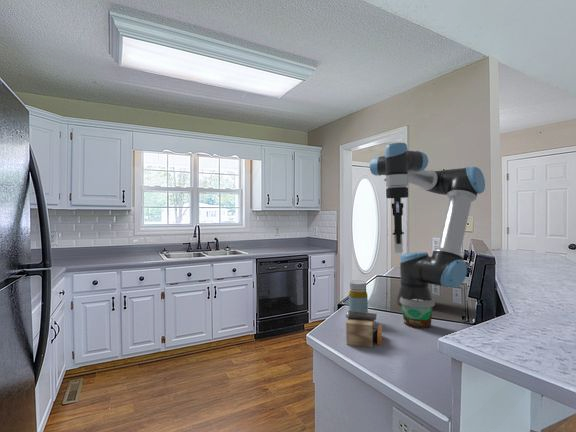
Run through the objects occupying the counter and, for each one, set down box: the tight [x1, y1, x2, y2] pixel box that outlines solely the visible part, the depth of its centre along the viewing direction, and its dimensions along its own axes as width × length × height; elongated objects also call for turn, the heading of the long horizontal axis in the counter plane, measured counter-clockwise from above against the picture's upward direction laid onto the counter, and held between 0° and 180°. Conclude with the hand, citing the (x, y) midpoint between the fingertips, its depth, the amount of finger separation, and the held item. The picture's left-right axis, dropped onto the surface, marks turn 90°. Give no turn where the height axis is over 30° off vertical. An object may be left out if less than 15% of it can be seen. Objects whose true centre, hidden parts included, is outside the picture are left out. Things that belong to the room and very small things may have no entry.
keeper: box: [345, 309, 378, 321], centre depth 106 cm, size 10×5×1 cm, turn 71°
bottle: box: [348, 280, 369, 313], centre depth 123 cm, size 7×7×15 cm
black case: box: [373, 324, 383, 346], centre depth 106 cm, size 11×7×4 cm, turn 72°
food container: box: [400, 297, 436, 330], centre depth 116 cm, size 12×6×10 cm, turn 70°
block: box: [345, 311, 376, 348], centre depth 106 cm, size 8×12×7 cm, turn 161°
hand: (398, 252), depth 115 cm, fingers closed
